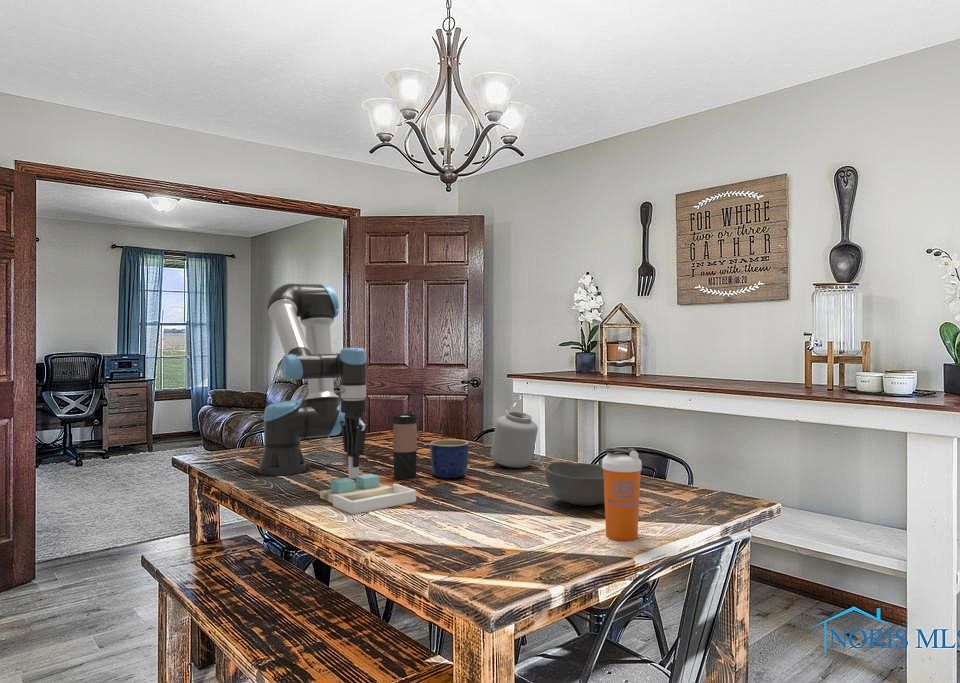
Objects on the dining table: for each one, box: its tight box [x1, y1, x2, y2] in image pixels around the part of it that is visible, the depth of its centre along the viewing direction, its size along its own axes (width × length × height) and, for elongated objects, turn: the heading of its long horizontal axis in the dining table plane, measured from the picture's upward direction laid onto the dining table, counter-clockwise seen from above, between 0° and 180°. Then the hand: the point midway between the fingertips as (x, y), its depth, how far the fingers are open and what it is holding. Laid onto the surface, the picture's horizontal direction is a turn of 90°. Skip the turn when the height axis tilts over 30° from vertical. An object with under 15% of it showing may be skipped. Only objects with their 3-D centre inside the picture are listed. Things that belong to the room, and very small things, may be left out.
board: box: [319, 482, 393, 504], centre depth 183 cm, size 10×18×2 cm, turn 130°
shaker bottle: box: [601, 447, 643, 542], centre depth 146 cm, size 9×9×20 cm
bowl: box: [545, 461, 605, 507], centre depth 174 cm, size 20×20×10 cm
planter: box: [430, 439, 469, 479], centre depth 209 cm, size 12×12×11 cm
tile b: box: [330, 477, 356, 494], centre depth 181 cm, size 5×5×3 cm
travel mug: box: [392, 413, 418, 480], centre depth 207 cm, size 8×8×20 cm
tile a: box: [355, 473, 381, 489], centre depth 186 cm, size 5×5×3 cm
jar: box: [490, 395, 544, 469], centre depth 224 cm, size 19×15×25 cm
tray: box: [332, 483, 417, 515], centre depth 175 cm, size 11×20×3 cm, turn 130°
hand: (353, 477), depth 192 cm, fingers closed
